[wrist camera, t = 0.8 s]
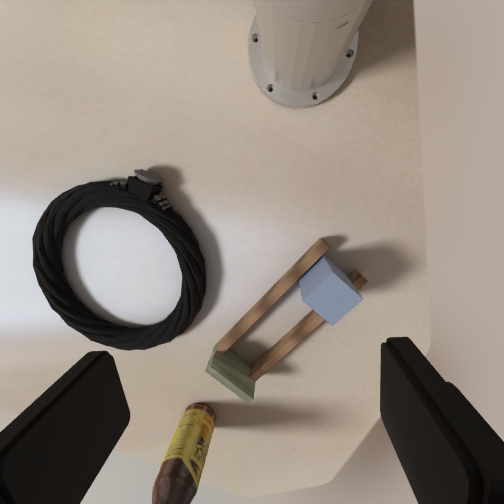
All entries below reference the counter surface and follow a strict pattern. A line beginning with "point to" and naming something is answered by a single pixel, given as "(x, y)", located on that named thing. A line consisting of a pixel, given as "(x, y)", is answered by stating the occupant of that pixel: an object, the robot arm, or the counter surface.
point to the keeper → (328, 290)
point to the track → (243, 375)
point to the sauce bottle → (185, 457)
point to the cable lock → (152, 209)
